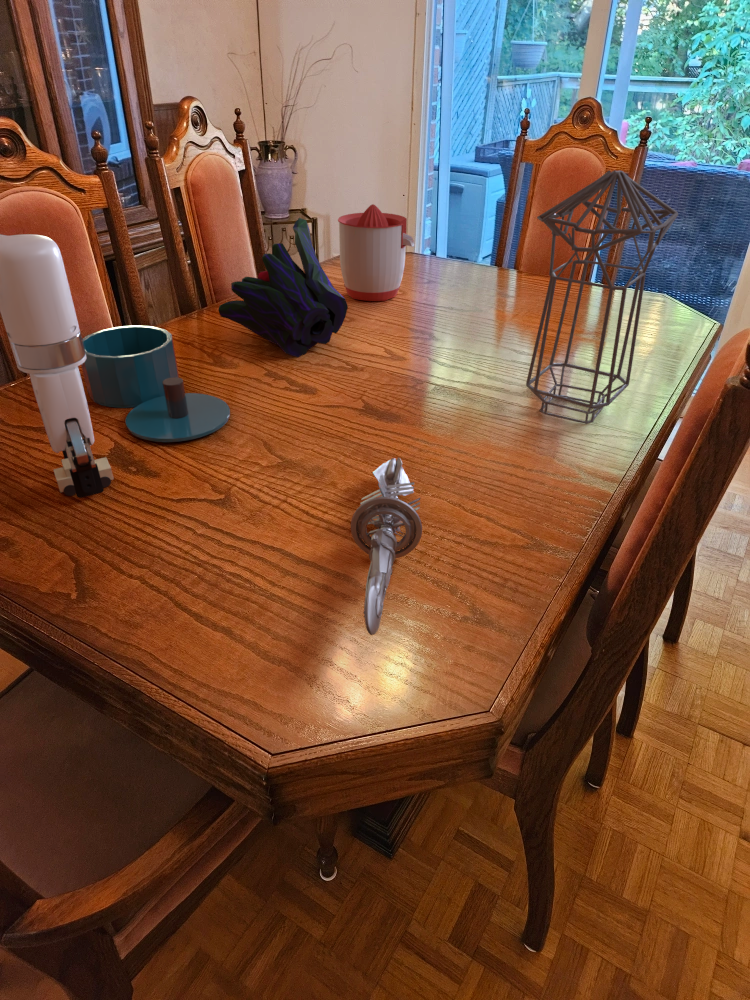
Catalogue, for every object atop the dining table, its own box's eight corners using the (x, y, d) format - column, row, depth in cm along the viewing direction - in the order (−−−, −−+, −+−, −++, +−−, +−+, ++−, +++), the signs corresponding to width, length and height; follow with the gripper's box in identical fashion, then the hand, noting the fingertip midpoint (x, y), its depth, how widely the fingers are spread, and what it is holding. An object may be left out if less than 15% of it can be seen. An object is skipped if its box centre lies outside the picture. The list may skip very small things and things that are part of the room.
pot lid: (124, 451, 95) (114, 409, 91) (129, 405, 107) (120, 366, 104) (234, 439, 98) (229, 397, 94) (227, 395, 111) (222, 357, 107)
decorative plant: (280, 404, 129) (216, 322, 144) (389, 334, 133) (315, 261, 148) (242, 328, 112) (173, 244, 127) (368, 250, 115) (287, 177, 130)
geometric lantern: (634, 406, 109) (693, 169, 89) (602, 444, 98) (661, 184, 78) (543, 383, 116) (579, 159, 96) (504, 416, 105) (536, 172, 86)
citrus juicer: (407, 307, 150) (411, 213, 139) (332, 302, 152) (330, 209, 141) (416, 288, 163) (420, 199, 152) (347, 283, 165) (345, 196, 154)
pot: (85, 412, 105) (72, 361, 100) (93, 376, 117) (82, 329, 112) (180, 402, 108) (172, 353, 103) (179, 368, 120) (171, 322, 115)
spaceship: (311, 606, 57) (397, 584, 55) (357, 446, 88) (414, 428, 86) (346, 674, 60) (428, 655, 58) (379, 497, 91) (433, 480, 89)
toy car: (62, 498, 85) (54, 473, 83) (58, 485, 87) (50, 460, 85) (115, 485, 87) (109, 460, 85) (110, 473, 90) (104, 448, 88)
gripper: (6, 332, 82) (45, 458, 92) (22, 383, 69) (65, 522, 79) (71, 322, 85) (102, 445, 95) (97, 370, 72) (129, 505, 82)
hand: (85, 479), depth 87 cm, fingers open, 6 cm apart
